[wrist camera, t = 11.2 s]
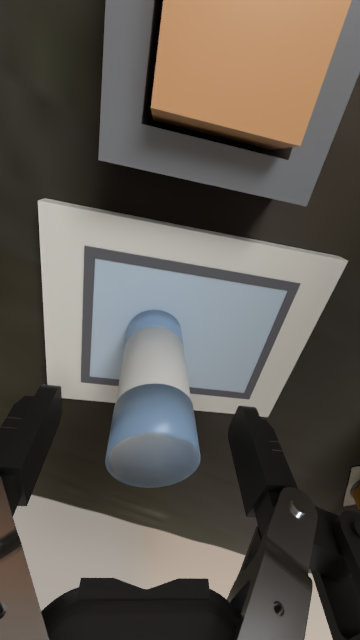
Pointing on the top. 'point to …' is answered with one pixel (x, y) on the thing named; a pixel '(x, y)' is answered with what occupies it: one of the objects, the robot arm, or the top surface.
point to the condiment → (353, 488)
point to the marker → (153, 407)
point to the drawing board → (176, 303)
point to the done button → (244, 66)
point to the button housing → (199, 154)
